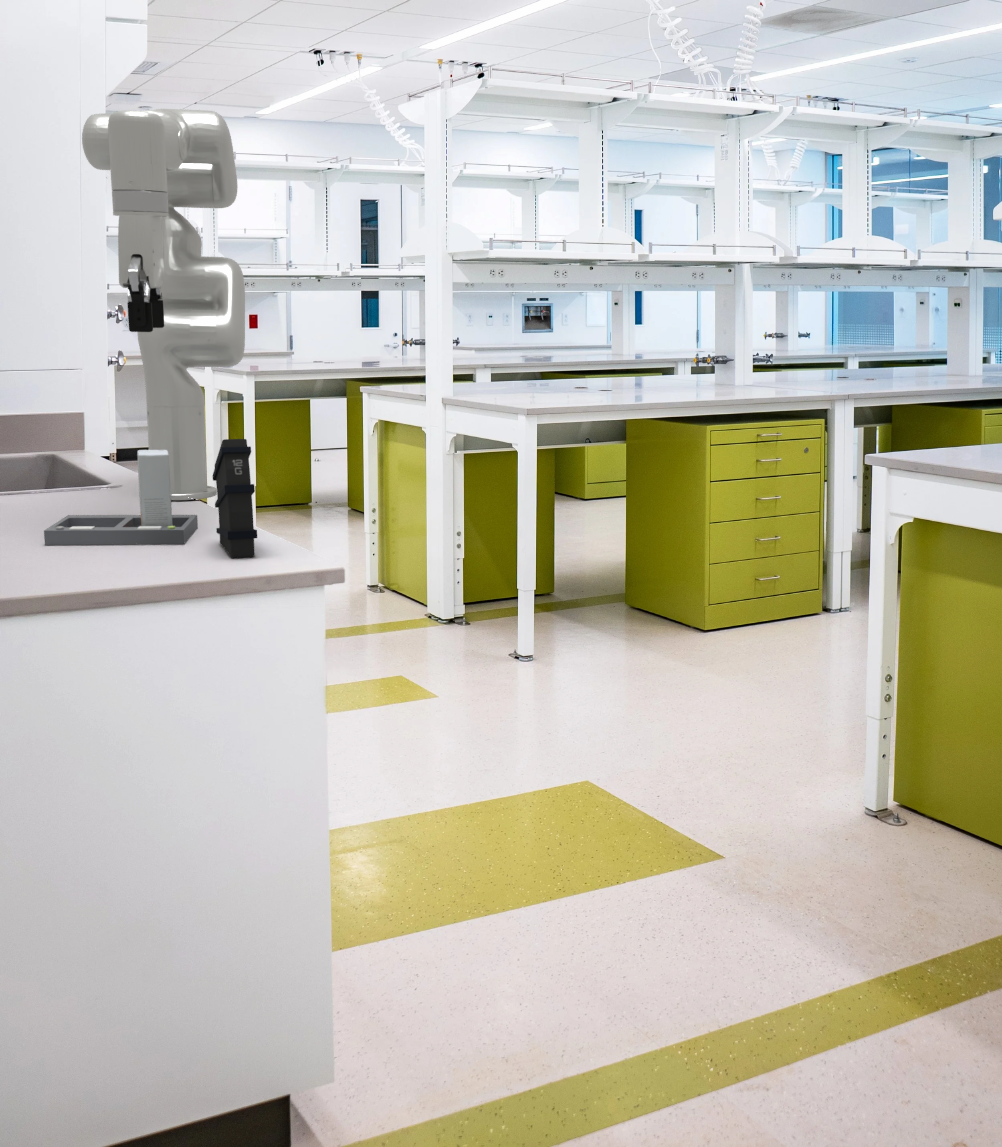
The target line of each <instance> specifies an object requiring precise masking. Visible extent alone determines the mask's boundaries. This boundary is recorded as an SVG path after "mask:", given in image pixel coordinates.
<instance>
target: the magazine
mask: <svg viewBox="0 0 1002 1147" xmlns="http://www.w3.org/2000/svg"><path fill="white" fill-rule="evenodd" d="M251 453H252V446H248V440H247V439H246V438H232V439H231V438H228V439H227V438H226V439H223V440H222V441H221V444H220V446H219V450H218V454H217V457H216V460H215V463H214V468H213V472H212V476H211V477H212V481H215V482H216V489H217V495H216V496H217V499H216V500H215V503H214V508H217V509H218V524H219V525H218V526H219V527H216V529H215V530H216V533H217V535H219V543H220V545H221V546H222V548H223V550H225V552H226V553H227V554H228V555H229V557H230V558H231V559H245V558H254V557H255V555H256V553H255V539H258V530H257V529H254V512H253V511H254V510H253V497H252V496H253V495H254V493H255V484H254V483H251V482H252V481H251V470H250V469H251V468H250V461H249V458H250V456H251V455H252V454H251Z"/></svg>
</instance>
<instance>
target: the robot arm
mask: <svg viewBox="0 0 1002 1147" xmlns="http://www.w3.org/2000/svg"><path fill="white" fill-rule="evenodd" d="M232 141H233V140H232V136H231V132H230V129H229V126H228V124H227V122H226V120H225V118H224V117H223V116H222V115H221V114H220V113H218V112H217V111H215V110H214V111H213V110H202V109H201V110H200V109H181V108H179V109H178V108H177V109H176V108H157V109H151V110H149V109H148V110H147V109H146V110H119V111H114V112H110V113H95V114H90V115H89V116H88V117H87V119H86V120H85V121H84V125H83V127H82V133H81V145H82V149H83V150H82V151H83V153H84V156H85V158H86V160H87V162H88V163H89V165H91V167H93V168H94V169H96V170H101V171H110V181H111V185H110V186H111V198H112V216H117V217H118V225H117V226H118V228H117V232H118V233H117V236H118V237H117V240H118V241H117V242H118V243H117V245H118V246H117V248H118V249H117V251H118V252H117V253H118V255H117V256H118V284H119V285H120V287H121V288H123V289H126V288H127V317H128V330H129V331H130V332H131V333H137V341H138V346H139V351H140V356H141V362H142V366H143V367H142V368H143V374H144V383H145V384H144V385H145V399H146V402H145V403H146V419H147V438H148V439H147V441H148V450H167V451H168V454H169V469H170V487H171V501H191V500H194V499H195V500H203V499H208V498H213V497H215V496H217V487H215V486H210V485H208V474H207V473H208V470H207V447H206V446H207V443H206V442H207V441H206V440H207V439H206V423H205V422H206V419H205V418H206V417H205V416H206V415H205V414H206V412H205V397H204V391H203V388H202V387H201V386H200V384H199V383H198V382H197V381H196V379H195V378H194V377H193V376H192V375H191V374H190V373H189V371H188V369H189V368H199V367H200V368H226V367H233V366H237V365H238V364H240V362H241V361H242V360H243V357H244V353H245V348H246V347H245V346H246V344H245V343H246V290H245V288H246V287H245V286H246V285H245V278H244V274H243V271H242V268H241V266H240V265H239V263H238V262H237V261H236V260H233V259H232V258H229V257H223V256H202V238H201V235H200V234H199V232H198V231H197V229H196V227H194V226H193V224H192V223H191V222H189V220H188V219H187V218H186V217H184V216H183V215H182V214H181V213H180V212H178V211H177V210H176V209H175V208H187V209H188V208H196V209H224V208H228V207H230V206H231V205H233V204H234V203H235V201H236V198H237V196H238V177H237V176H238V175H237V169H236V162H235V154H234V146H233V142H232ZM188 497H189V498H188ZM191 498H193V499H191Z"/></svg>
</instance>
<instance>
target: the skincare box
mask: <svg viewBox="0 0 1002 1147" xmlns="http://www.w3.org/2000/svg"><path fill="white" fill-rule="evenodd" d="M136 452H137V454H136V456H137V473H138V476H137V477H138V491H139V495H138V496H139V510H140V512H139V513H140V515H141V526H162V527H168V526H173V524H172V515H173V513H172V512H173V511H172V510H173V507H172V500H171V487H170V469H169V454H168V451H167V450H149V449H139V450H138V449H137V451H136Z"/></svg>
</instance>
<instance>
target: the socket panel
mask: <svg viewBox="0 0 1002 1147" xmlns="http://www.w3.org/2000/svg"><path fill="white" fill-rule="evenodd" d="M198 519H199V518H198V514H172V524H173V526H168V527H162V526H141V514H68V515H66V516H64V517H62V518H61V519H60V520H58V521H56V522H54V523H53V524H52V525H50V526H49V527H48V528H46V529H44V530H43V535H44V536H43V538H44V546H100V545H101V546H115V545H116V546H122V545H124V546H127V545H128V546H129V545H130V546H133V545H134V546H136V545H137V546H139V545H140V546H143V545H147V546H148V545H150V546H151V545H152V546H155V545H156V546H157V545H158V546H159V545H161V546H162V545H185V544H186V543H187V542H188V541H189V539H190V538H191V537H192V536H193V535H194V533H196V532H197V530H198V529H199V526H198V525H199V524H198V523H199V522H198V521H199V520H198Z"/></svg>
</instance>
